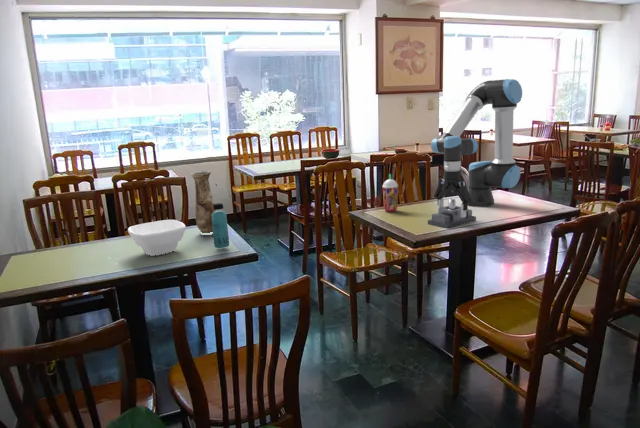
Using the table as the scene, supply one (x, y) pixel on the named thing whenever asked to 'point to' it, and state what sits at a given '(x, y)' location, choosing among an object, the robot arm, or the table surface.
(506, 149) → the robot arm
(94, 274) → the table surface
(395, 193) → the smoothie
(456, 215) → the grey square socket block
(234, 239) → the table surface
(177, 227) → the bowl
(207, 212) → the vase
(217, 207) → the beverage bottle
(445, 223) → the shaft stand
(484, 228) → the table surface
